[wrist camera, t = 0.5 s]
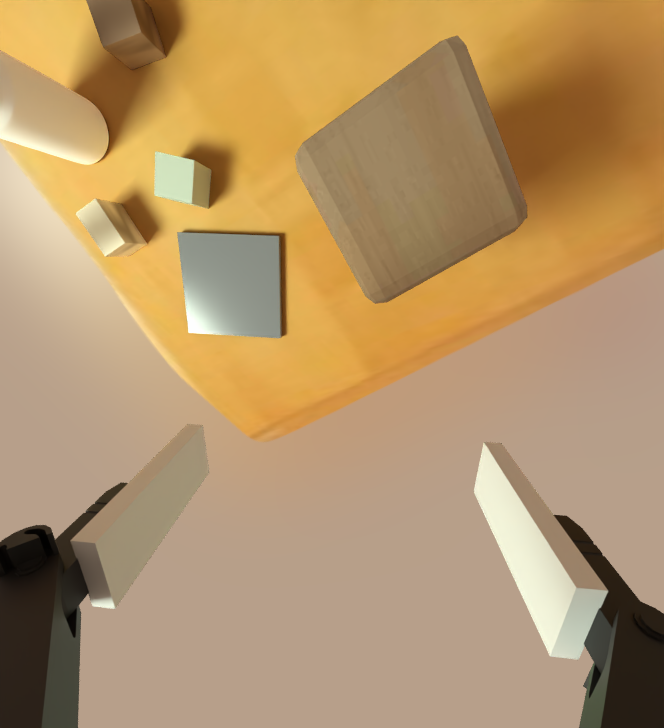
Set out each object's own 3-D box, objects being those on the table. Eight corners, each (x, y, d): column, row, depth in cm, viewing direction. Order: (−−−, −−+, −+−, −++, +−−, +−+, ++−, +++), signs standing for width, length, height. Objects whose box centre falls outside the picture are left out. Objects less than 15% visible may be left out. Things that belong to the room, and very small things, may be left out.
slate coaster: (181, 232, 38) (177, 232, 37) (280, 236, 37) (278, 235, 36) (191, 331, 42) (188, 332, 41) (281, 336, 41) (280, 338, 40)
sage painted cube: (177, 162, 36) (155, 151, 32) (211, 170, 36) (194, 160, 32) (175, 201, 37) (154, 195, 33) (209, 208, 37) (191, 203, 33)
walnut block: (116, 22, 32) (83, -9, 28) (151, 8, 32) (122, -25, 28) (132, 70, 33) (103, 47, 30) (166, 57, 33) (141, 32, 29)
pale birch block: (103, 217, 38) (75, 213, 35) (121, 204, 38) (95, 198, 34) (129, 256, 40) (105, 256, 36) (147, 244, 39) (124, 243, 35)
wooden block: (367, 283, 38) (373, 312, 19) (324, 203, 36) (283, 148, 17) (446, 237, 36) (541, 219, 17) (406, 149, 33) (465, 12, 15)
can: (52, 150, 36) (-88, 103, 25) (59, 85, 34) (-90, 2, 23) (106, 176, 37) (-8, 141, 25) (116, 113, 35) (-2, 45, 23)
